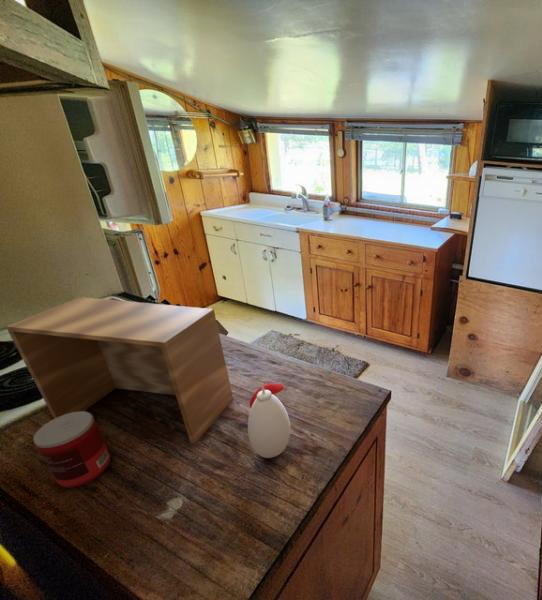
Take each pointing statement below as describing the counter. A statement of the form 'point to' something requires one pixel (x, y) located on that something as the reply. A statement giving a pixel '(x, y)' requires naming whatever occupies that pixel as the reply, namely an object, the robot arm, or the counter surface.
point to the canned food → (73, 449)
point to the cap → (271, 387)
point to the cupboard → (126, 356)
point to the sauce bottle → (268, 425)
